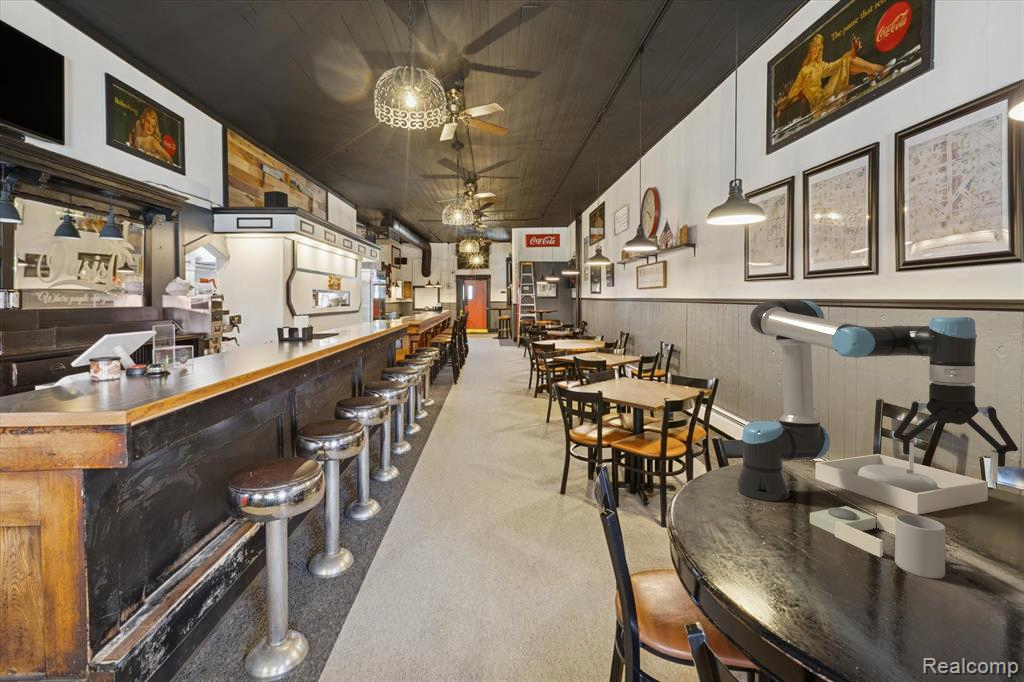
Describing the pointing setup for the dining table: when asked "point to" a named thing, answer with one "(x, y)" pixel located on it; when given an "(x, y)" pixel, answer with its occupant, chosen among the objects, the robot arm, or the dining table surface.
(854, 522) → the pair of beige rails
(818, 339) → the robot arm
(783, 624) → the dining table surface
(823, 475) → the shallow rectangular tray
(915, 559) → the mug
